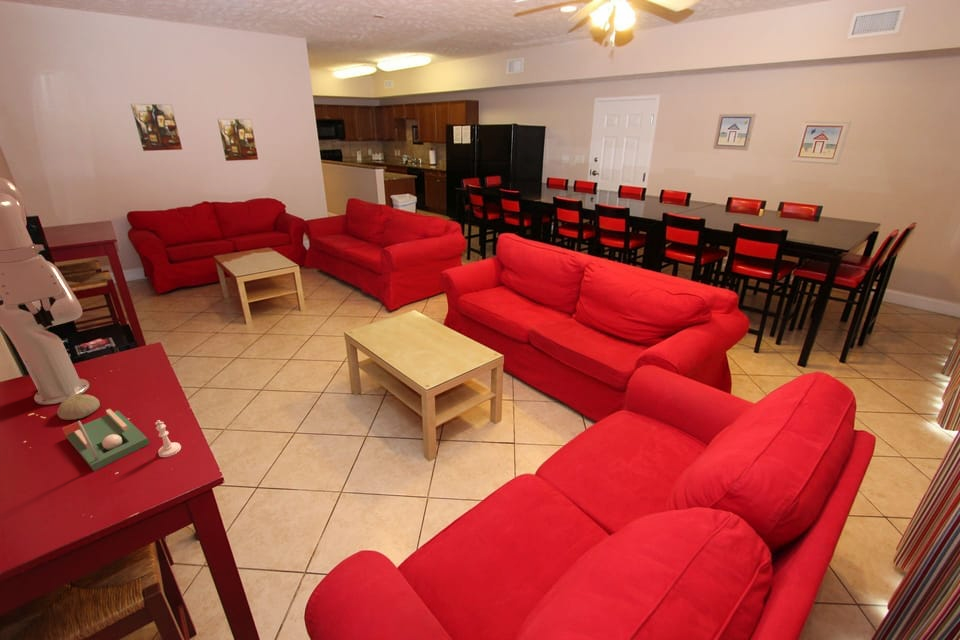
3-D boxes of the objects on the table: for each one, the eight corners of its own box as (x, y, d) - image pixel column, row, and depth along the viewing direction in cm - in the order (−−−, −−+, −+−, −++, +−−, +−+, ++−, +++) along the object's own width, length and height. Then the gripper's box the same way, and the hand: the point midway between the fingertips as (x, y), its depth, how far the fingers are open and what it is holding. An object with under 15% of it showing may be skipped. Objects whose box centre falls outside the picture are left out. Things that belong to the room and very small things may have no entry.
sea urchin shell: (78, 419, 119) (53, 400, 117) (70, 432, 122) (45, 414, 120) (109, 400, 127) (86, 382, 125) (100, 412, 130) (78, 395, 129)
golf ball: (105, 448, 107) (107, 455, 110) (124, 439, 110) (126, 447, 113) (98, 437, 108) (100, 444, 111) (116, 428, 111) (118, 436, 114)
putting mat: (59, 441, 113) (37, 398, 107) (120, 415, 124) (103, 375, 117) (86, 474, 103) (63, 430, 97) (149, 443, 114) (132, 401, 107)
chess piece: (175, 456, 110) (164, 426, 105) (154, 458, 109) (142, 427, 105) (184, 443, 114) (173, 413, 110) (164, 445, 113) (152, 415, 109)
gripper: (51, 244, 105) (80, 311, 113) (-38, 258, 93) (1, 332, 101) (61, 249, 101) (90, 319, 109) (-31, 265, 90) (9, 341, 98)
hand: (47, 325), depth 105 cm, fingers closed
